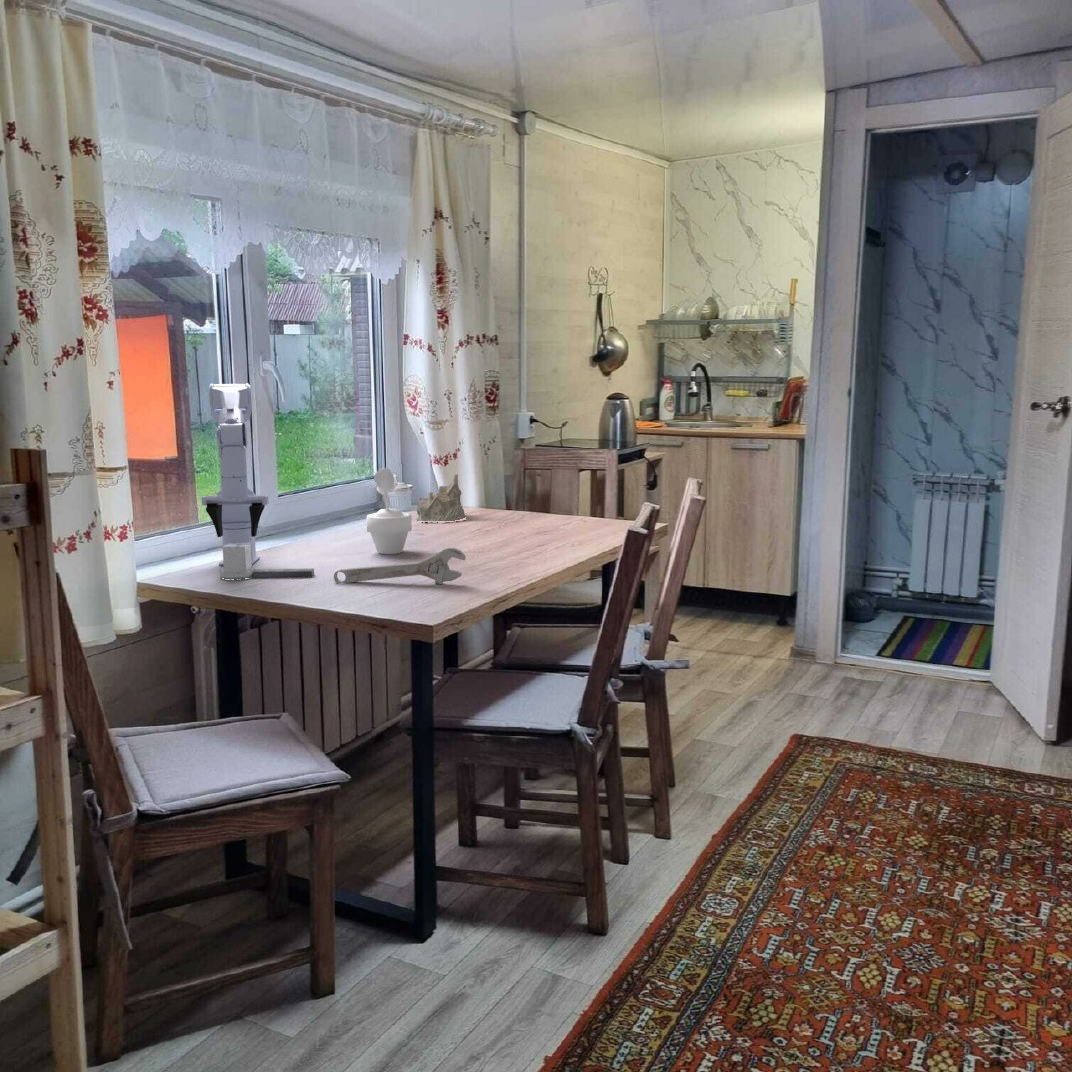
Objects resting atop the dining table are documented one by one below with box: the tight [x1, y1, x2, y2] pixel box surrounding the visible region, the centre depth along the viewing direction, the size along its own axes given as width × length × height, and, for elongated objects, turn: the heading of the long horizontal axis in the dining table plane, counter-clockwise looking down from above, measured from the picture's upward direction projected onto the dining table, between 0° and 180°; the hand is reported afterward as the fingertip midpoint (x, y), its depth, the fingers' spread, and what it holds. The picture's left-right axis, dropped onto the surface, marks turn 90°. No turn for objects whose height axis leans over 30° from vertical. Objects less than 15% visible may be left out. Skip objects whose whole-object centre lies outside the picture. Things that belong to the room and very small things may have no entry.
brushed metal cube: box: [222, 543, 253, 573], centre depth 231 cm, size 5×5×6 cm
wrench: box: [333, 547, 466, 585], centre depth 224 cm, size 8×2×30 cm
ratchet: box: [219, 567, 315, 581], centre depth 232 cm, size 8×21×5 cm, turn 93°
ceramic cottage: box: [416, 474, 467, 522], centre depth 316 cm, size 16×16×15 cm
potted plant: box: [366, 458, 413, 555], centre depth 260 cm, size 13×12×25 cm
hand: (237, 536), depth 230 cm, fingers open, 7 cm apart
